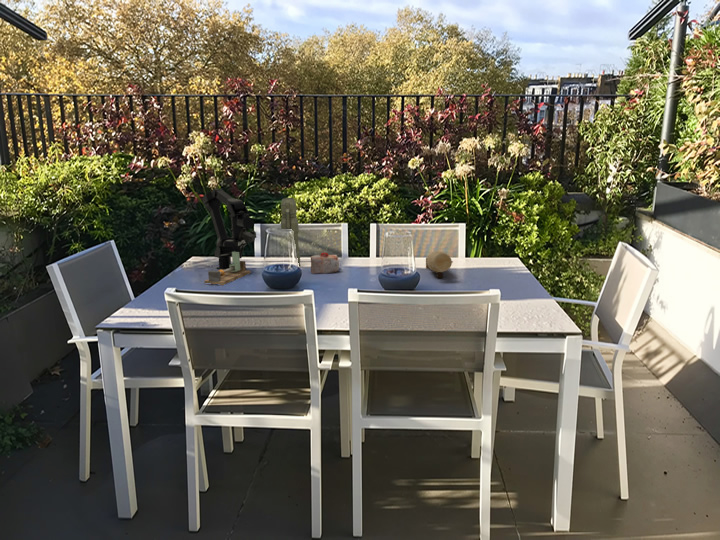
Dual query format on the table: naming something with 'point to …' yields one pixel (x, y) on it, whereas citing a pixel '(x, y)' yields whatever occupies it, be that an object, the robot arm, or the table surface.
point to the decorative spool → (438, 262)
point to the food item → (324, 263)
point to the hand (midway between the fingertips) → (240, 258)
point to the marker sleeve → (235, 261)
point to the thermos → (290, 219)
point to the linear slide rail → (227, 275)
